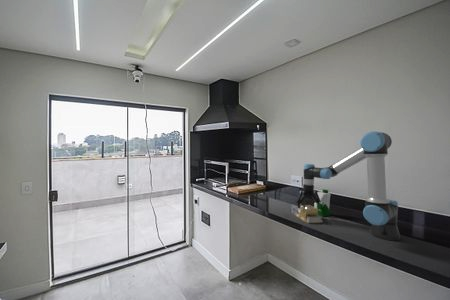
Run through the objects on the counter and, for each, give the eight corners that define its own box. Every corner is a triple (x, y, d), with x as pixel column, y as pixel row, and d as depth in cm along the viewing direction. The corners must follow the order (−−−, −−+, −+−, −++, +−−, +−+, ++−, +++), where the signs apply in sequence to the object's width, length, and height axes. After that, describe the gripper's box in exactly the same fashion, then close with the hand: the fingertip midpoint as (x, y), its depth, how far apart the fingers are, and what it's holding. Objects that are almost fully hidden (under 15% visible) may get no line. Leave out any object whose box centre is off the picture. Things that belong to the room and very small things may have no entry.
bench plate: (322, 222, 150) (322, 220, 150) (307, 223, 148) (307, 221, 148) (307, 213, 169) (307, 211, 169) (293, 214, 167) (293, 212, 167)
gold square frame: (317, 218, 155) (317, 209, 154) (305, 219, 153) (305, 209, 152) (309, 213, 164) (309, 205, 164) (298, 214, 162) (298, 205, 162)
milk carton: (331, 215, 165) (332, 191, 164) (323, 217, 161) (323, 191, 160) (322, 212, 173) (323, 188, 172) (314, 213, 169) (314, 189, 169)
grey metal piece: (321, 220, 150) (321, 210, 150) (309, 221, 148) (309, 211, 148) (306, 211, 169) (306, 203, 169) (294, 212, 167) (295, 203, 166)
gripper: (319, 182, 164) (319, 209, 165) (291, 183, 159) (290, 211, 159) (326, 184, 157) (325, 212, 157) (296, 185, 151) (295, 214, 152)
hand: (307, 211), depth 158 cm, fingers open, 13 cm apart
